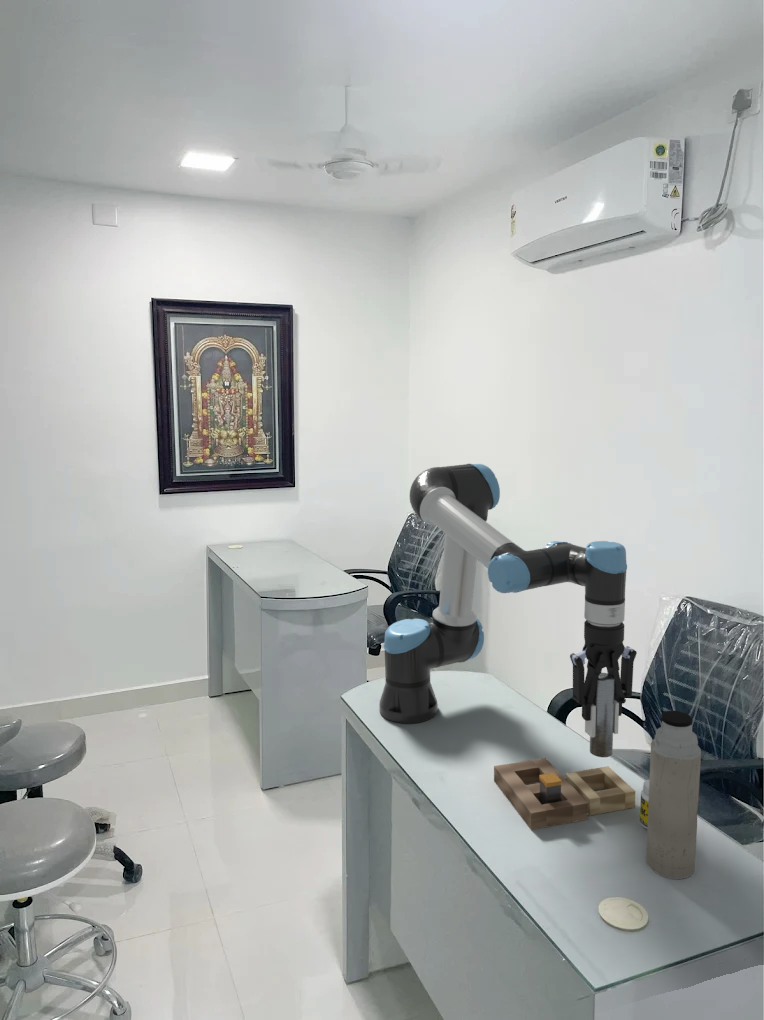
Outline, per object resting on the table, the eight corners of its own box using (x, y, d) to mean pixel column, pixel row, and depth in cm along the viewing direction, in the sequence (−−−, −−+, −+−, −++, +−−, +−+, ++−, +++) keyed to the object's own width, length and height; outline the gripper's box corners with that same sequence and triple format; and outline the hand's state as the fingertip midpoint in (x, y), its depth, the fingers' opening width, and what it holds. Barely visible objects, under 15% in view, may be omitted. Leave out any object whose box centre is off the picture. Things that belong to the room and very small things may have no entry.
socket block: (494, 781, 157) (494, 766, 157) (545, 772, 160) (545, 757, 160) (530, 829, 140) (531, 813, 140) (587, 819, 143) (588, 802, 142)
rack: (565, 788, 154) (565, 773, 153) (607, 781, 156) (608, 766, 155) (589, 815, 144) (590, 799, 144) (634, 807, 147) (635, 791, 146)
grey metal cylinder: (585, 748, 150) (587, 674, 147) (604, 745, 151) (607, 671, 148) (597, 758, 146) (599, 682, 143) (616, 755, 147) (619, 679, 144)
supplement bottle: (634, 821, 142) (635, 781, 141) (653, 814, 144) (654, 775, 142) (652, 834, 138) (654, 793, 136) (671, 828, 140) (673, 787, 138)
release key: (538, 806, 146) (539, 775, 145) (553, 803, 147) (554, 772, 146) (546, 815, 143) (546, 783, 142) (561, 812, 144) (561, 780, 143)
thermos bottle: (689, 852, 132) (697, 707, 127) (699, 881, 125) (707, 728, 120) (643, 847, 134) (649, 704, 129) (649, 876, 126) (656, 724, 121)
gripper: (573, 632, 138) (571, 747, 142) (655, 622, 142) (650, 734, 146) (554, 619, 145) (553, 730, 149) (632, 611, 149) (629, 718, 153)
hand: (601, 732), depth 148 cm, fingers closed on grey metal cylinder, 4 cm apart
